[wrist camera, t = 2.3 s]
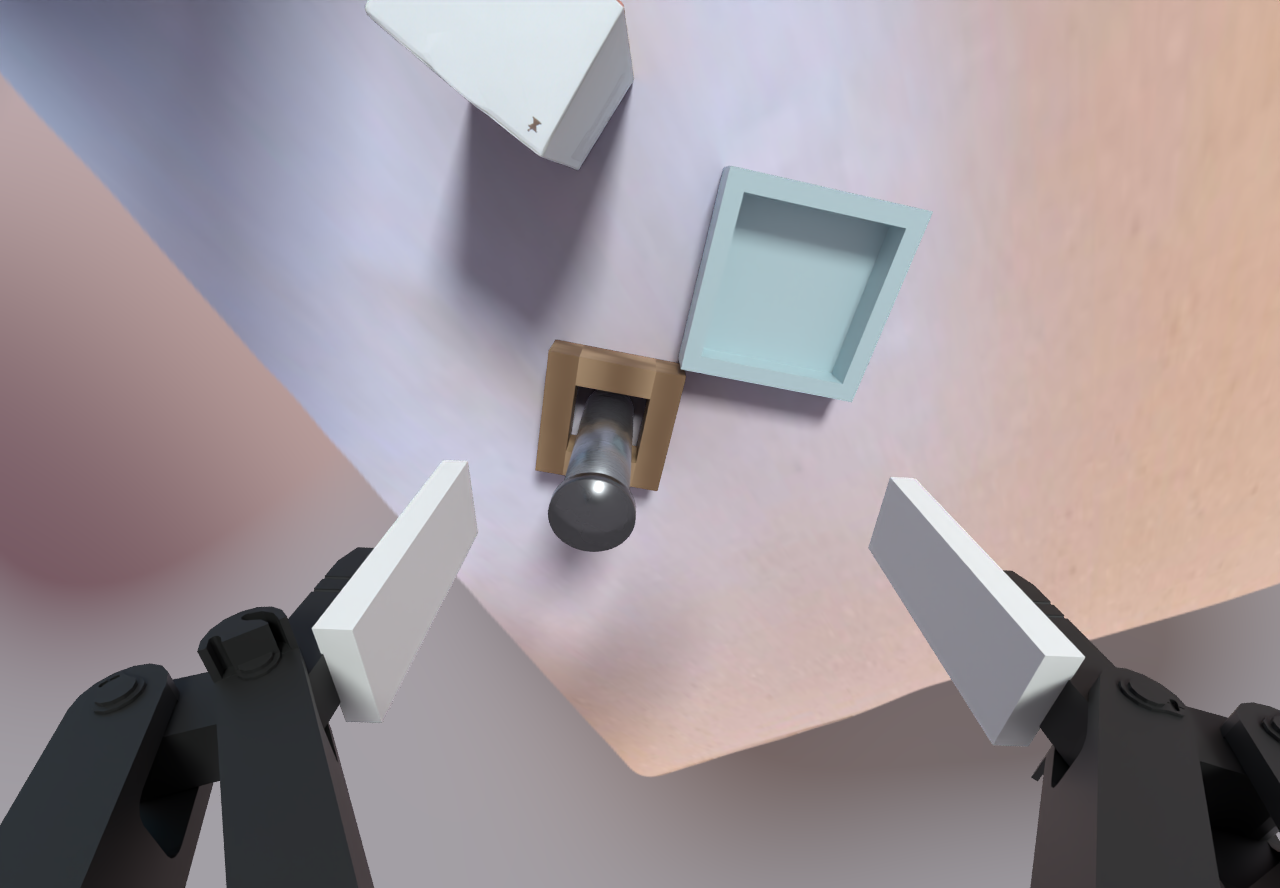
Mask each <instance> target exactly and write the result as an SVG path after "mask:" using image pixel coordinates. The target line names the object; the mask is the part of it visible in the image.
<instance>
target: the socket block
mask: <svg viewBox="0 0 1280 888" xmlns="http://www.w3.org/2000/svg"><path fill="white" fill-rule="evenodd" d="M685 379H686V375H685V370H682V369H681V367H680V363H675V362H670V361H664V360H659V359H654V358H649V357H644V356H638V355H633V354H628V353H623V352H618V351H613V350H607V349H602V348H597V347H592V346H587V345H581V344H576V343H571V342H566V341H561V340H555V341H554V343H553V345H552V346H551V348H550V350H549V353H548V362H547V371H546V380H545V389H544V397H543V406H542V415H541V424H540V433H539V442H538V451H537V460H536V469H535V470H537V471H543V472H548V473H554V474H560V475H566V472H567V469H568V465H569V461H570V458H571V454H572V451H573V447H574V444H575V440H576V437H577V435H571V432H572V425H573V418H574V411H575V404H576V398H577V391H578V386H582V387H587V388H593V389H598V390H603V391H609V392H614V393H619V394H625V395H630V396H635V397H641V398H646V399H647V401H646V405H645V410H644V414H643V419H642V424H641V428H640V433H639V437H638V442H637V446H633V445H632V457H631V476H630V487H636V488H642V489H648V490H654V491H658V487H659V483H660V479H661V475H662V471H663V467H664V463H665V459H666V455H667V451H668V447H669V443H670V439H671V435H672V431H673V427H674V423H675V419H676V415H677V411H678V407H679V403H680V399H681V395H682V391H683V387H684V383H685Z"/></svg>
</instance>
